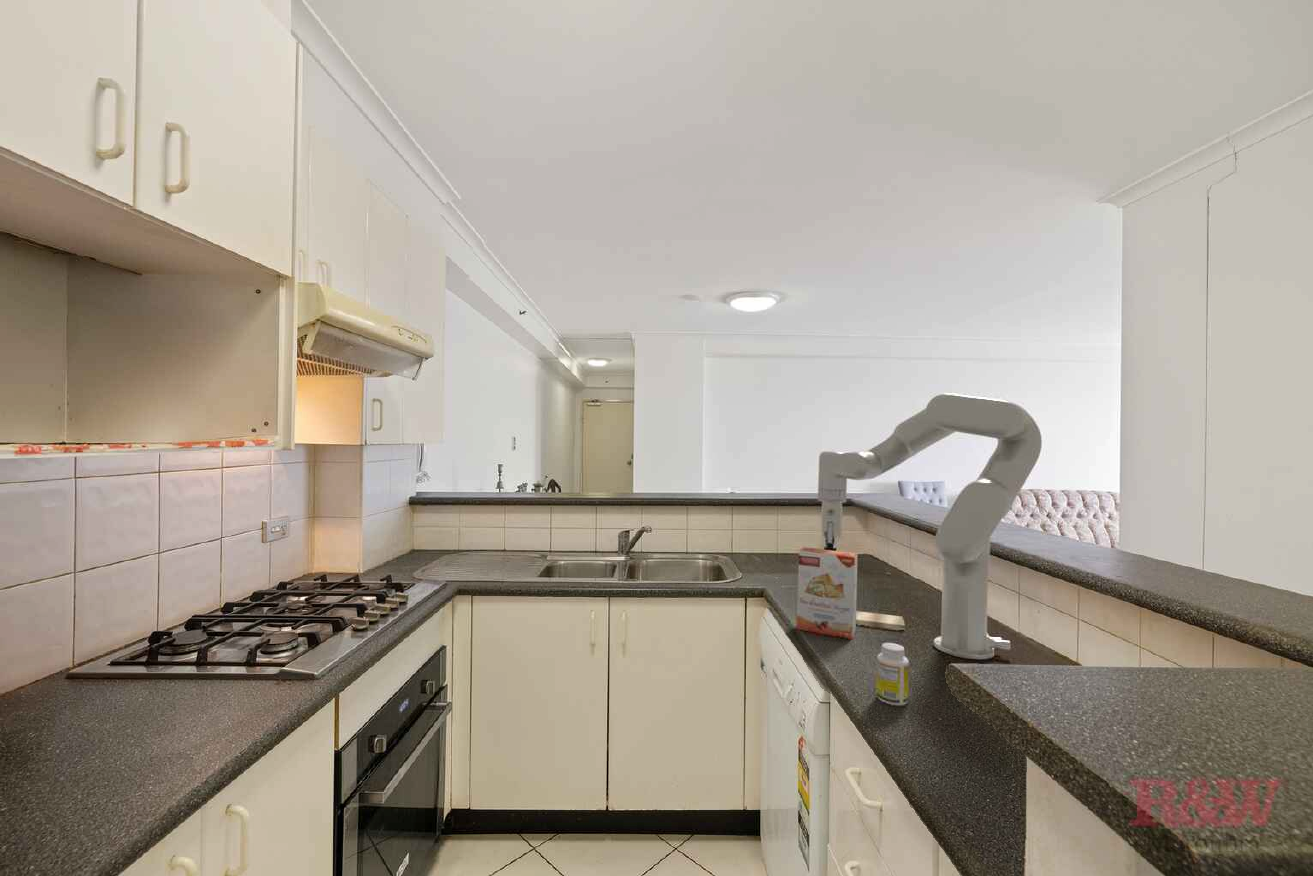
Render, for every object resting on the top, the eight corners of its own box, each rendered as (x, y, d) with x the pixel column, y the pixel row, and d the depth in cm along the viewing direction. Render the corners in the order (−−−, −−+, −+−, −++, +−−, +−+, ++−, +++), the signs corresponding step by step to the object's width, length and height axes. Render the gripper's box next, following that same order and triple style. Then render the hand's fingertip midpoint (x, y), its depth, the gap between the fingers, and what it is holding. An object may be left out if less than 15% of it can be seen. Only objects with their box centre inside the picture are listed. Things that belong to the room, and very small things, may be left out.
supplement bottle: (898, 693, 108) (899, 641, 108) (914, 707, 102) (915, 651, 102) (870, 693, 107) (872, 641, 107) (885, 707, 102) (886, 652, 102)
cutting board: (902, 622, 152) (902, 616, 152) (904, 631, 144) (905, 625, 144) (856, 616, 156) (856, 611, 156) (856, 625, 148) (856, 619, 148)
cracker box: (795, 630, 143) (797, 549, 143) (801, 624, 148) (803, 546, 148) (852, 640, 136) (854, 556, 137) (856, 633, 142) (858, 552, 142)
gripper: (846, 499, 144) (843, 569, 144) (846, 494, 159) (844, 558, 159) (816, 497, 147) (813, 566, 147) (819, 492, 161) (817, 555, 161)
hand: (829, 561), depth 153 cm, fingers closed
